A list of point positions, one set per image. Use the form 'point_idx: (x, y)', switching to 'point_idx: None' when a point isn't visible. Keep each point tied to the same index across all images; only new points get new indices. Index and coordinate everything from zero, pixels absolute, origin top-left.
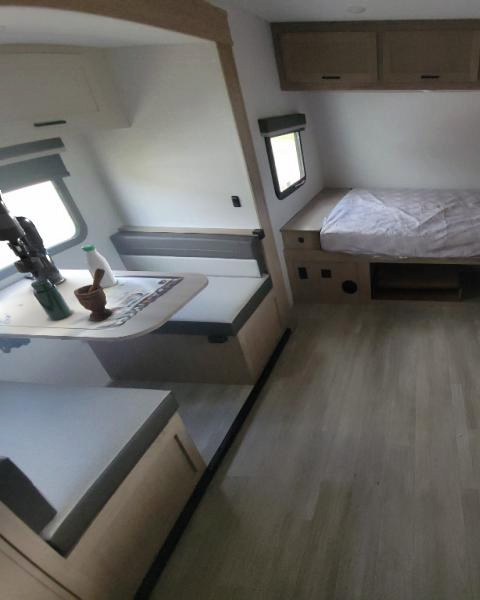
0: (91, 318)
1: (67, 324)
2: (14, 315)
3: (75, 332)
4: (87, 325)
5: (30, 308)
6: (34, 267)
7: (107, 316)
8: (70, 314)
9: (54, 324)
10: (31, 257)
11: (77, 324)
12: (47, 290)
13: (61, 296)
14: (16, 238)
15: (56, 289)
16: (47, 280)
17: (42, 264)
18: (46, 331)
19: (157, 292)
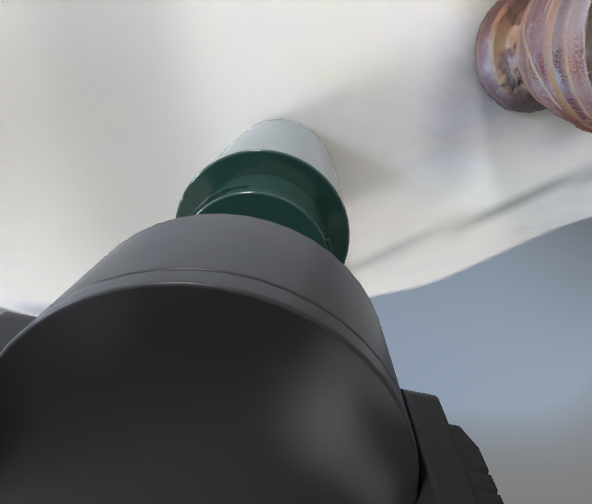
0: (538, 110)
1: (425, 204)
2: (52, 294)
3: (556, 222)
4: (551, 153)
5: (23, 221)
6: (437, 418)
7: None
8: (322, 141)
9: (355, 237)
10: (16, 361)
11: (481, 176)
12: (327, 237)
13: (309, 147)
14: None
15: (320, 167)
16: (272, 206)
17: (297, 249)
18: (394, 287)
19: None
